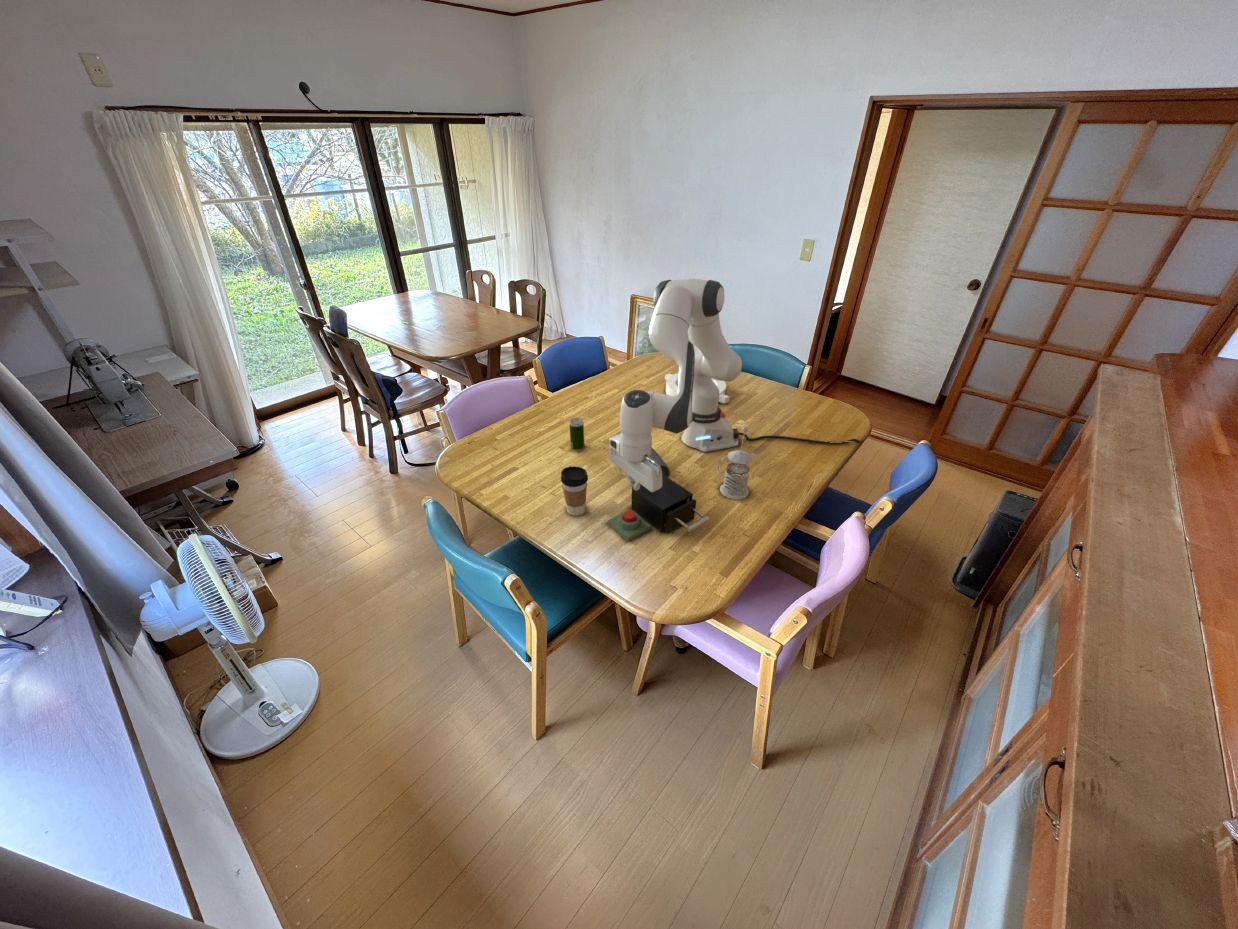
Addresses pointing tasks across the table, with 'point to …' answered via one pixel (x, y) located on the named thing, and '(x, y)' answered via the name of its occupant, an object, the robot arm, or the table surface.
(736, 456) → the french press
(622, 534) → the control block
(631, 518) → the stop button
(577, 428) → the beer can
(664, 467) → the bluetooth speaker
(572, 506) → the coffee cup
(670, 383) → the white circle with bar
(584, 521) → the table surface
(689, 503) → the black drawer
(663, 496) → the dark drawer cabinet
